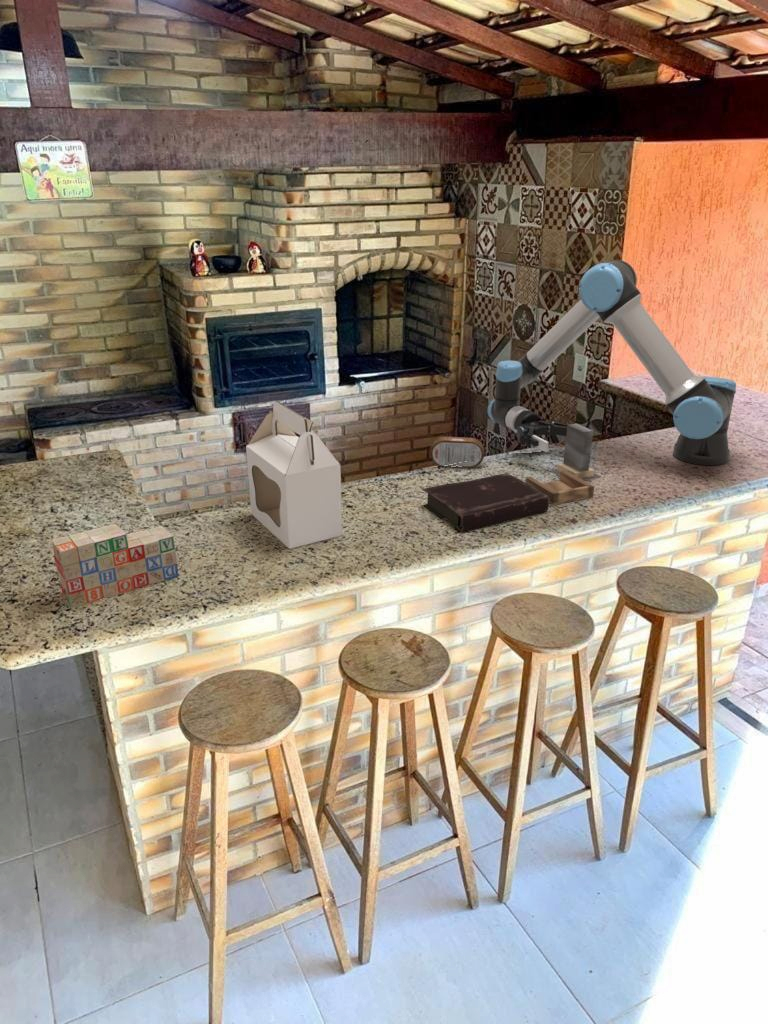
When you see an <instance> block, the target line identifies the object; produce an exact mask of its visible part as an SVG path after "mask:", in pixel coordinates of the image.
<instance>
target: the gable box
mask: <svg viewBox="0 0 768 1024" xmlns="http://www.w3.org/2000/svg"><path fill="white" fill-rule="evenodd" d="M272 403H273V406H272V407H273V408H272V410H269V412H268V413H267V414H266V415H265V416H264V418H263V420H262V421H261V422H260V424H259V425H258V427H257V429H256V430H255V431H254V434H253V435H252V437H251V438H250V440H249V441H248V443H247V445H246V447H245V450H246V460H247V461H246V462H247V463H246V464H247V473H248V476H247V477H248V489H249V497H250V498H249V500H250V501H249V502H250V512H251V515H252V516H253V517H254V518H255V519H256V520H257V521H258V522H259V523H260V524H262V525H263V526H264V527H265V528H266V529H267V530H268V531H269V532H270V533H272V535H273V536H274V537H276V538H277V539H278V541H280V542H281V543H282V544H284V545H285V546H286V548H288V549H289V550H291V549H296V548H298V547H303V546H306V545H311V544H314V543H318V542H321V541H322V542H323V541H327V540H330V539H333V538H334V539H335V538H337V537H341V536H342V535H343V524H342V523H343V521H342V517H343V515H342V485H341V484H342V478H341V477H342V476H341V473H342V471H341V463H340V461H338V460H337V459H336V458H335V457H334V455H333V454H332V453H331V451H330V450H329V448H328V447H327V446H326V445H325V444H324V442H323V441H322V439H321V438H320V437H319V436H318V434H317V433H315V432H314V431H311V429H312V427H313V424H314V421H312V420H310V419H309V418H307V417H305V416H304V415H303V414H300V413H298V412H297V411H295V410H294V409H292V408H290V407H289V406H287V405H285V404H283V403H282V402H280V401H279V400H274V401H273V402H272ZM296 434H298V435H299V436H297V435H296ZM311 461H312V462H313V464H311Z"/></svg>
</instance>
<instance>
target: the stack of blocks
mask: <svg viewBox="0 0 768 1024" xmlns="http://www.w3.org/2000/svg"><path fill="white" fill-rule="evenodd" d="M51 543H52V549H53V552H54V553H53V558H54V562H55V567H56V570H57V571H56V572H57V573H58V574H57V575H58V580H59V582H60V589H61V593H62V596H63V595H64V596H63V597H65V598H64V599H65V601H66V602H67V603H69V604H68V605H69V607H70V608H71V609H73V608H77V607H80V606H83V605H87V604H90V603H94V601H95V602H97V600H98V601H101V600H100V599H102V600H104V599H103V598H105V599H108V598H107V597H109V598H111V596H112V597H115V596H119V595H120V593H121V594H124V593H127V591H128V592H130V591H134V590H137V589H141V588H144V587H147V586H151V585H154V584H157V583H160V582H164V581H168V580H171V579H174V578H177V577H179V569H178V561H177V553H176V552H177V551H176V547H175V546H176V545H175V539H174V536H173V535H172V534H171V532H170V531H169V530H167V529H166V528H165V527H164V526H162V525H160V526H155V527H153V528H149V529H145V530H144V529H143V530H141V531H137V532H133V533H129V534H127V533H126V532H125V531H124V530H123V529H122V528H121V527H119V526H118V524H117V523H114V524H108V525H104V526H101V527H96V528H93V529H89V530H85V531H81V532H78V533H73V534H69V535H66V536H62V537H57V538H53V539H51ZM118 594H119V595H118Z"/></svg>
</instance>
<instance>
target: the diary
mask: <svg viewBox="0 0 768 1024" xmlns="http://www.w3.org/2000/svg"><path fill="white" fill-rule="evenodd" d="M422 491H424V492H425V493H426V494H427V503H425V504H422V507H423V506H424V507H423V508H425V509H427V510H428V511H429V512H431V513H432V514H434V515H435V516H437V517H438V518H440V519H441V520H443V519H446V520H447V521H449V522H450V523H452V524H453V525H454V526H455V527H457V528H455V529H456V530H457V529H461V530H460V533H464V531H465V532H468V531H472V530H476V529H479V528H480V529H481V528H484V527H487V525H488V526H492V525H491V524H493V525H496V523H497V524H500V522H501V523H505V522H509V521H513V520H517V519H520V517H521V518H524V516H525V517H529V516H532V515H536V514H542V513H546V512H548V511H549V510H548V509H549V504H550V503H549V500H548V496H547V495H545V494H543V493H542V492H540V491H538V490H536V489H535V488H533V487H532V486H530V485H528V484H527V483H526V481H523V480H521V479H520V478H518V477H516V476H514V475H511V474H510V473H505V472H504V473H501V474H494V475H490V476H486V477H481V478H475V479H472V480H467V481H460V482H459V481H458V482H451V483H444V484H439V485H434V486H430V487H426V488H423V489H422ZM516 518H517V519H516ZM512 519H513V520H512ZM508 520H509V521H508ZM504 521H505V522H504ZM483 526H484V527H483Z"/></svg>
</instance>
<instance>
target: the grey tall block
mask: <svg viewBox="0 0 768 1024" xmlns="http://www.w3.org/2000/svg"><path fill="white" fill-rule="evenodd" d="M569 424H570V423H569ZM593 436H594V430H592V429H590V428H588V427H585V426H583V425H581V424H579V423H572V424H570V425H567V434H566V436H565V445H564V454H563V462H559V463H557V467H556V469H557V471H559V472H560V471H567V472H569V473H570V474H572V475H574V476H576V477H578V478H580V479H586V478H591V477H594V473H595V469H593V468H592V467H590V463H591V462H590V461H591V454H592V453H591V451H592V443H593Z"/></svg>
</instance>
